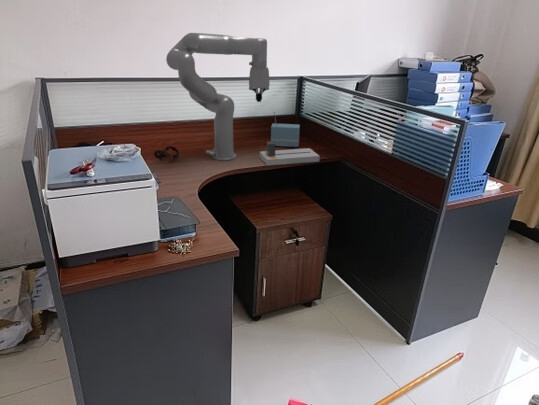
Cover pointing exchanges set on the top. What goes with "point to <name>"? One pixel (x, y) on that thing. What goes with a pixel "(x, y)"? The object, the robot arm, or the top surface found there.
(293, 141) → the radio
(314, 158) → the panel
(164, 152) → the dark linked rings
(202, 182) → the top surface
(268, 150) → the fader knob
